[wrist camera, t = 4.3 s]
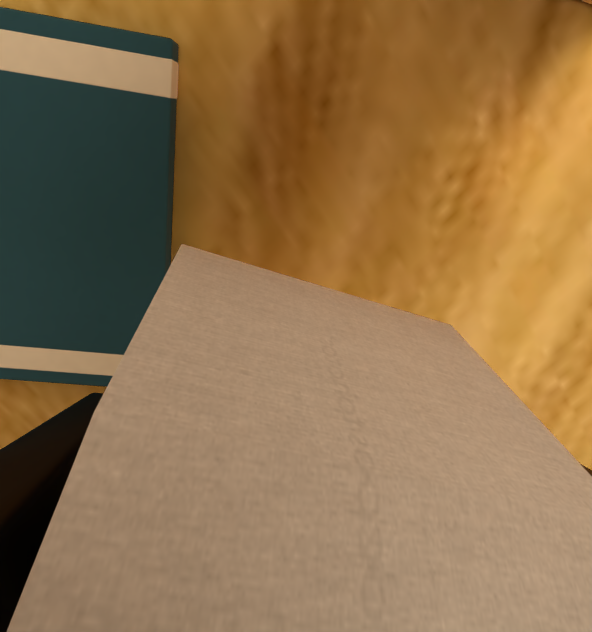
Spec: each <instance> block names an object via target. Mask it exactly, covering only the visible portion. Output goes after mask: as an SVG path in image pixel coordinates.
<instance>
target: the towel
mask: <svg viewBox="0 0 592 632" xmlns="http://www.w3.org/2000/svg"><path fill="white" fill-rule="evenodd" d="M178 48H179V47H178V44H177V43H175V42H174V41H173V40H172V39H170V38H166V37H160V36H155V35H149V34H144V33H139V32H133V31H128V30H122V29H117V28H111V27H106V26H101V25H95V24H90V23H84V22H79V21H74V20H68V19H63V18H57V17H52V16H47V15H41V14H36V13H30V12H25V11H20V10H14V9H9V8H3V7H0V379H10V380H24V381H37V382H51V383H65V384H79V385H93V386H108V384H109V382H110V380H111V379H112V377H113V375H114V373H115V371H116V369H117V367H118V365H119V363H120V361H121V359H122V357H123V355H124V354H125V352H126V350H127V348H128V346H129V344H130V342H131V340H132V338H133V336H134V334H135V332H136V331H137V329H138V327H139V325H140V323H141V321H142V319H143V317H144V315H145V313H146V311H147V309H148V307H149V306H150V304H151V302H152V300H153V298H154V296H155V294H156V292H157V290H158V288H159V286H160V284H161V283H162V281H163V279H164V277H165V275H166V273H167V271H168V269H169V267H170V265H171V238H172V211H173V184H174V157H175V130H176V102H177V97H178V71H179V64H178Z"/></svg>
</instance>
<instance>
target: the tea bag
mask: <svg viewBox="0 0 592 632" xmlns="http://www.w3.org/2000/svg"><path fill="white" fill-rule="evenodd" d="M7 632H592V476H591V475H590V474H589V473H588V472H587V471H586V470H585V469H584V468H583V467H582V465H581V464H580V463H579V462H578V461H577V460H576V459H575V458H574V457H573V456H572V455H571V454H570V453H569V451H568V450H567V449H566V448H565V447H564V446H563V445H562V444H561V443H560V442H559V441H558V440H557V439H556V437H555V436H554V435H553V434H552V433H551V432H550V431H549V430H548V429H547V428H546V427H545V426H544V425H543V424H542V422H541V421H540V420H539V419H538V418H537V417H536V416H535V415H534V414H533V413H532V412H531V411H530V410H529V408H528V407H527V406H526V405H525V404H524V403H523V402H522V401H521V400H520V399H519V398H518V397H517V396H516V394H515V393H514V392H513V391H512V390H511V389H510V388H509V387H508V386H507V385H506V384H505V383H504V382H503V381H502V379H501V378H500V377H499V376H498V375H497V374H496V373H495V372H494V371H493V370H492V369H491V368H490V367H489V365H488V364H487V363H486V362H485V361H484V360H483V359H482V358H481V357H480V356H479V355H478V354H477V353H476V351H475V350H474V349H473V348H472V347H471V346H470V345H469V344H468V343H467V342H466V341H465V340H464V339H463V338H462V336H461V335H460V334H459V333H458V332H457V331H456V330H455V329H454V328H453V327H452V326H451V325H449V324H446V323H442V322H439V321H436V320H433V319H429V318H426V317H423V316H419V315H416V314H413V313H409V312H406V311H403V310H399V309H396V308H393V307H389V306H386V305H383V304H380V303H376V302H373V301H370V300H366V299H363V298H360V297H356V296H353V295H350V294H346V293H343V292H340V291H336V290H333V289H330V288H326V287H323V286H320V285H317V284H313V283H310V282H307V281H303V280H300V279H297V278H293V277H290V276H287V275H283V274H280V273H277V272H273V271H270V270H267V269H264V268H260V267H257V266H254V265H250V264H247V263H244V262H240V261H237V260H234V259H230V258H227V257H224V256H220V255H217V254H214V253H210V252H207V251H204V250H201V249H197V248H194V247H191V246H187V245H184V244H181V246H180V248H179V250H178V252H177V254H176V256H175V258H174V260H173V261H172V263H171V265H170V267H169V269H168V271H167V273H166V275H165V277H164V279H163V281H162V283H161V284H160V286H159V288H158V290H157V292H156V294H155V296H154V298H153V300H152V302H151V304H150V306H149V307H148V309H147V311H146V313H145V315H144V317H143V319H142V321H141V323H140V325H139V327H138V329H137V331H136V332H135V334H134V336H133V338H132V340H131V342H130V344H129V346H128V348H127V350H126V352H125V354H124V355H123V357H122V359H121V361H120V363H119V365H118V367H117V369H116V371H115V373H114V375H113V377H112V379H111V380H110V382H109V384H108V386H107V388H106V390H105V392H104V394H103V396H102V398H101V400H100V402H99V403H98V405H97V407H96V409H95V411H94V413H93V416H92V418H91V421H90V423H89V426H88V428H87V431H86V433H85V436H84V438H83V441H82V443H81V446H80V448H79V451H78V453H77V456H76V458H75V461H74V463H73V466H72V468H71V471H70V474H69V476H68V479H67V481H66V484H65V486H64V489H63V491H62V494H61V496H60V499H59V501H58V504H57V506H56V509H55V511H54V514H53V516H52V519H51V521H50V524H49V526H48V529H47V531H46V534H45V536H44V539H43V541H42V544H41V546H40V549H39V551H38V554H37V556H36V559H35V561H34V564H33V566H32V569H31V571H30V574H29V576H28V579H27V581H26V584H25V586H24V589H23V591H22V594H21V597H20V599H19V602H18V604H17V607H16V609H15V612H14V614H13V617H12V619H11V622H10V624H9V627H8V629H7Z"/></svg>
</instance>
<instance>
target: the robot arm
mask: <svg viewBox="0 0 592 632" xmlns="http://www.w3.org/2000/svg"><path fill="white" fill-rule="evenodd" d="M102 396H103V393H92V394H90V395H88V396H86V397H85V398H83V399H81V400H80V401H78V402H77V403H75V404H73V405H72V406H70V407H68V408H67V409H65V410H64V411H62V412H60V413H59V414H57V415H56V416H54V417H52V418H51V419H49V420H48V421H46V422H44V423H43V424H41V425H39V426H38V427H36V428H35V429H33V430H31V431H30V432H28V433H27V434H25V435H23V436H22V437H20V438H19V439H17V440H15V441H14V442H12V443H10V444H9V445H7V446H6V447H4V448H2V449H1V450H0V632H7V629H8V627H9V624H10V622H11V619H12V617H13V614H14V612H15V609H16V607H17V604H18V602H19V599H20V597H21V594H22V591H23V589H24V586H25V584H26V581H27V579H28V576H29V574H30V571H31V569H32V566H33V564H34V561H35V559H36V556H37V554H38V551H39V549H40V546H41V544H42V541H43V539H44V536H45V534H46V531H47V529H48V526H49V524H50V521H51V519H52V516H53V514H54V511H55V509H56V506H57V504H58V501H59V499H60V496H61V494H62V491H63V489H64V486H65V484H66V481H67V479H68V476H69V474H70V471H71V468H72V466H73V463H74V461H75V458H76V456H77V453H78V451H79V448H80V446H81V443H82V441H83V438H84V436H85V433H86V431H87V428H88V426H89V423H90V421H91V418H92V416H93V413H94V411H95V409H96V407H97V405H98V403H99V402H100V400H101V398H102ZM581 465H582V464H581ZM582 467H583V468H584V469H585V470H586V471H587V472H588V473H589V474H590V475H591V476H592V470H590V469H588V468H587V467H585V466H583V465H582Z"/></svg>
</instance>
